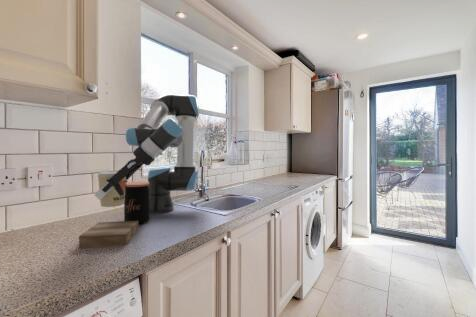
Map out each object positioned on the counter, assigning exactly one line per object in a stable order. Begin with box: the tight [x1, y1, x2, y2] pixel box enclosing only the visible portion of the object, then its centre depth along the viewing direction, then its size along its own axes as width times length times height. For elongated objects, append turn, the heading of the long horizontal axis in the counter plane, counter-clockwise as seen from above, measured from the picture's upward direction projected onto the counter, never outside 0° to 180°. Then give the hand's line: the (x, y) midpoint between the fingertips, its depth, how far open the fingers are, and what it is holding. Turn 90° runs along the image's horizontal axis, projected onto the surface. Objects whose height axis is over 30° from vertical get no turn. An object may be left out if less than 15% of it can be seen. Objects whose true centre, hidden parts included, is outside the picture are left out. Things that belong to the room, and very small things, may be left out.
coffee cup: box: [97, 170, 126, 208], centre depth 85 cm, size 9×9×12 cm
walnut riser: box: [78, 220, 139, 249], centre depth 86 cm, size 15×15×4 cm
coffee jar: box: [123, 181, 151, 226], centre depth 105 cm, size 11×11×18 cm
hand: (103, 194), depth 85 cm, fingers closed on coffee cup, 9 cm apart
